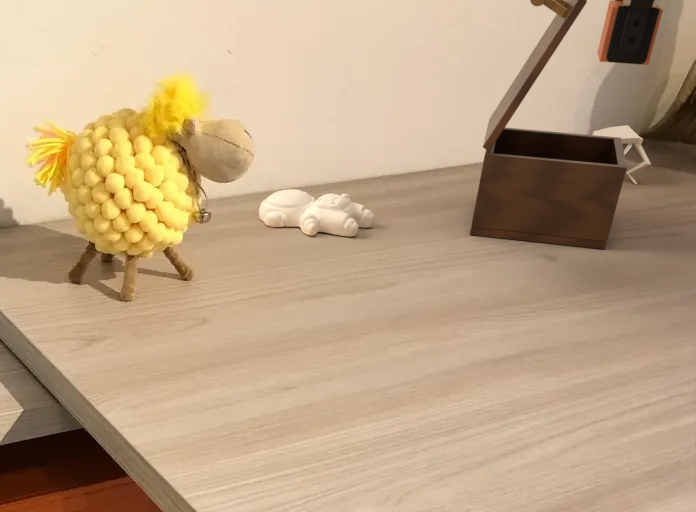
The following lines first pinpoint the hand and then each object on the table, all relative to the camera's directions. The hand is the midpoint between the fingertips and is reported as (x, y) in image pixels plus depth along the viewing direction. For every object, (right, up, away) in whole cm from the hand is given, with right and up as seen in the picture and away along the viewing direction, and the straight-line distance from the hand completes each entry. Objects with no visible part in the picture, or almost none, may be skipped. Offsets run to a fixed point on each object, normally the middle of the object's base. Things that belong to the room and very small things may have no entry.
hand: (623, 55), depth 89 cm
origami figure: (+14, +7, +39) cm, 42 cm away
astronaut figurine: (-24, -6, +21) cm, 33 cm away
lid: (-3, +7, +14) cm, 16 cm away
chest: (0, -5, +22) cm, 23 cm away
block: (0, 0, 0) cm, 0 cm away
